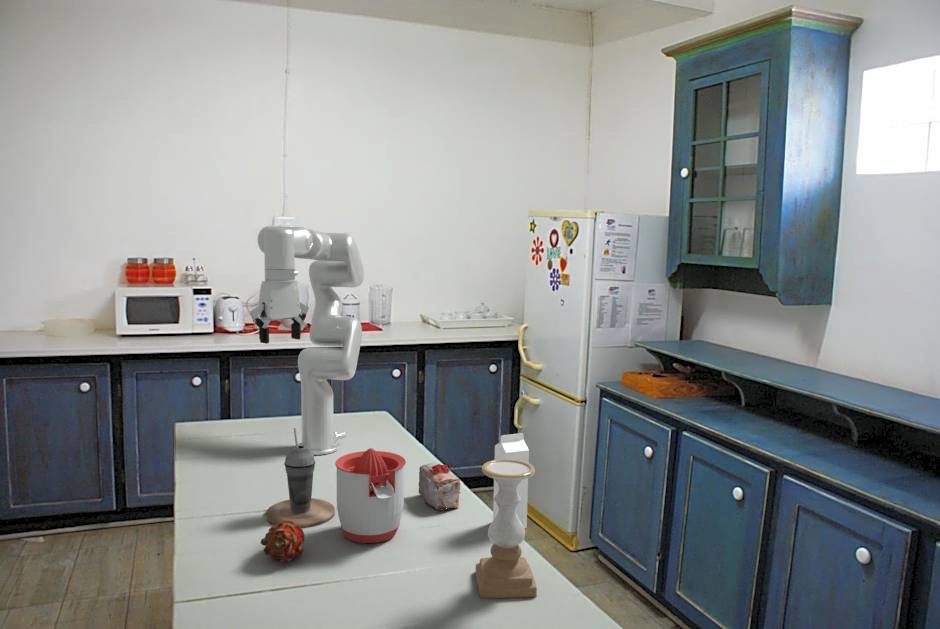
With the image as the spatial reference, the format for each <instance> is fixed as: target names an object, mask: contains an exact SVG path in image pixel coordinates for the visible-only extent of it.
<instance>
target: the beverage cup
mask: <svg viewBox="0 0 940 629" xmlns="http://www.w3.org/2000/svg"><path fill="white" fill-rule="evenodd" d="M293 433H294V440H295V446H294V447H292V448H291V449H289V451H288V452H287V453H286V455H285V458H284V464H283V465H284V466H285V468H284V469H285V473H286V476H287V477H286V478H287V486H288V487H287V488H288V496H289V497H288V498H289V499H288V500H290V506H291V511H292V512H293V513H305V512H308V511H309V510H310V505H311V498H312V497H313V496H312V493H313V480H314V479H313V478H314V471H315V466H316V459H315V455H313V453H312V451H311V450H310V449H309V448H307V447H305V446H298V444H299V442H298V435H297V427H294V428H293Z"/></svg>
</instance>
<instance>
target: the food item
mask: <svg viewBox="0 0 940 629" xmlns="http://www.w3.org/2000/svg"><path fill="white" fill-rule="evenodd" d="M418 473H419V474H418V493H419V495H420V496H421V497H423V498H424V499H425V504H426V503H428V504H429V506H431V507H432V508H435V510H436V511H437V510H438V509H446V508H447V509H446V510H449V509H448V508H455V509H459V503H460V495H461V480H460V478H458V477H457V476H455V475H454V474H453V473H452V472H451V469H450V468H449V467H448V465H447V464H441V463H434V462H433V463H426V464H422V465H420V467H419V472H418ZM428 504H427V505H428Z"/></svg>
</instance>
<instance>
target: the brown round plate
mask: <svg viewBox="0 0 940 629" xmlns="http://www.w3.org/2000/svg"><path fill="white" fill-rule="evenodd" d="M335 513H336V512H335V505H334V504H333V503H331V502H330V501H327V500H325V499H320V498H313V497H311V505H310V510H309V511H308V512H305V513H293V512H292V511H291V506H290V499H286V500H282V501H279V502H276V503H274V504H272V505H271V506H269V507H268V508H267V510H266V512H265V519H266V521H267V522H268V523H269V524H271V525H272V526H273V525H275V524H279V523H282V521H283V520H290V521H292V522H293V523H294V524H295V525H296V526H300V527H301V528H302V529H305V528H312V527H315V526H319V525H322V524H325V523H327V522H329V521H330V520H332V519H333V517H334V516H335Z"/></svg>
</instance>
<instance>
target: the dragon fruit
mask: <svg viewBox="0 0 940 629" xmlns="http://www.w3.org/2000/svg"><path fill="white" fill-rule="evenodd" d="M304 543H305V533H304V530H303V528H301V527H300V526H296V525H295V524H294V523H293V522H292V521H290V520H283V521H282V523H279V524H275V525H273V524H272V526H271V527H270V528H268V532H267V533H265V536H264V537H263V538H261V539H260V545H262V546H263V547H264V548H263V552H264V554H265V556H269V557H271V558H272V559H275V560H277V561H278V562H279V563H280V562H281V563H289V562H290V561H291V560H293V558H297V557H298V556H299V557H300V556H301V555H302V554H303V551H304V546H303V545H304Z"/></svg>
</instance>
